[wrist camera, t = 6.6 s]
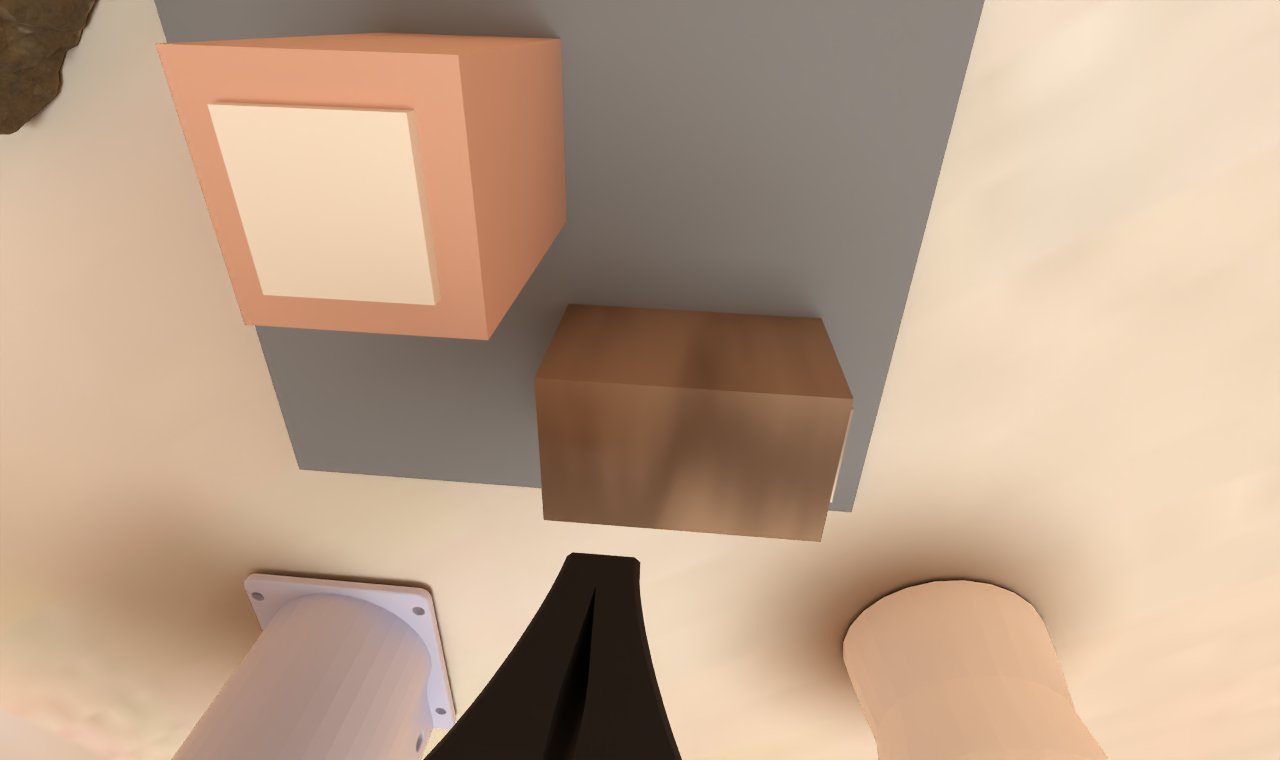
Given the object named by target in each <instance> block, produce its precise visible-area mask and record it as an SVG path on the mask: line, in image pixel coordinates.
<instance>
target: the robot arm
mask: <svg viewBox="0 0 1280 760" xmlns="http://www.w3.org/2000/svg"><path fill="white" fill-rule="evenodd" d="M639 579H640V562H639V561H638V560H637V559H636V558H634V557H622V556H610V555H598V554H585V553H571V554H570V555H568V556H567V558H566V560H565V562H564V564H563V566H562V568H561V570H560V572H559V574H558V576H557V578H556V580H555V582H554V584H553V586H552V588H551V589H550V591H549V593H548V595H547V596H546V598H545V600H544V601H543V603H542V605H541V607H540V608H539V610H538V612H537V613H536V615H535V616H534V618H533V619H532V621H531V622H530V624H529V626H528V627H527V629H526V630H525V632H524V633H523V635H522V636H521V638H520V639H519V641H518V642H517V644H516V645H515V647H514V648H513V650H512V651H511V653H510V654H509V655H508V657H507V658H506V659H505V661H504V662H503V664H502V665H501V666H500V668H499V669H498V670H497V672H496V673H495V675H494V676H493V677H492V679H491V680H490V681H489V683H488V684H487V685H486V687H485V688H484V689H483V691H482V692H481V693H480V694H479V696H478V697H477V698H476V700H475V701H474V702H473V703H472V705H471V706H470V707H469V708H468V709H467V711H466V712H465V713H464V714H463V715H462V717H461V718H460V719H459V720H458V721H457V723H456V724H455V725H454V723H455V721H456V715H455V710H454V705H453V700H452V695H451V690H450V685H449V680H448V675H447V671H446V666H445V661H444V656H443V651H442V646H441V641H440V636H439V631H438V626H437V621H436V616H435V611H434V606H433V601H432V597H431V595H430V593H429V592H428V591H427V590H425V589H422V588H416V587H404V586H393V585H382V584H370V583H359V582H348V581H336V580H325V579H314V578H302V577H291V576H280V575H268V574H251V575H249V576H248V578H247V579H246V580H245V582H244V588H245V590H246V593H247V595H248V597H249V600H250V602H251V605H252V607H253V609H254V612H255V614H256V617H257V619H258V621H259V624H260V626H261V629H262V631H263V632H262V633H261V635H260V636H259V638H258V639H257V640H256V642H255V643H254V645H253V646H252V647H251V649H250V650H249V652H248V653H247V654H246V656H245V657H244V659H243V660H242V661H241V663H240V664H239V666H238V667H237V668H236V670H235V671H234V673H233V674H232V675H231V677H230V678H229V680H228V681H227V682H226V684H225V685H224V687H223V688H222V689H221V691H220V692H219V694H218V695H217V696H216V698H215V699H214V701H213V702H212V703H211V705H210V706H209V708H208V709H207V710H206V712H205V713H204V715H203V716H202V717H201V719H200V720H199V722H198V723H197V724H196V726H195V727H194V729H193V730H192V731H191V733H190V734H189V736H188V737H187V738H186V740H185V741H184V743H183V744H182V745H181V747H180V748H179V750H178V751H177V752H176V754H175V755H174V757H173V758H172V759H171V760H421V758H422V755H423V753H424V750H425V748H426V745H427V742H428V740H429V737H430V734H431V732H432V729H433V728H439V729H450V728H452V729H451V730H450V731H449V732H448V733H447V734H446V735H445V737H444V738H443V739H442V740H441V741H440V742H439V743H438V744H437V745H436V746H435V748H434V749H433V750H432V751H431V752H430V753H429V754H428V755H427V756H426V757H425V759H424V760H682V759H681V756H680V753H679V750H678V747H677V745H676V742H675V739H674V736H673V733H672V730H671V727H670V724H669V721H668V718H667V714H666V711H665V708H664V704H663V701H662V697H661V694H660V690H659V687H658V683H657V680H656V676H655V672H654V668H653V664H652V659H651V655H650V650H649V646H648V641H647V636H646V632H645V626H644V620H643V613H642V606H641V598H640V585H639Z"/></svg>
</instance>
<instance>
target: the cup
mask: <svg viewBox="0 0 1280 760" xmlns="http://www.w3.org/2000/svg"><path fill="white" fill-rule="evenodd" d="M843 660H844V663H845V665H846V668H847V671H848V674H849V677H850V680H851V682H852V685H853V688H854V690H855V693H856V695H857V697H858V700H859V702H860V705H861V707H862V709H863V712H864V714H865V716H866V719H867V721H868V724H869V726H870V728H871V731H872V733H873V735H874V738H875V740H876V743H877V751H878V760H1109V758H1108V757H1107V755H1106V754H1105V752H1104V751H1103V750H1102V748H1101V747H1100V745H1099V744H1098V743H1097V741H1096V740H1095V738H1094V737H1093V736H1092V734H1091V733H1090V731H1089V730H1088V729H1087V727H1086V726H1085V724H1084V723H1083V721H1082V720H1081V719H1080V717H1079V716H1078V714H1077V713H1076V711H1075V708H1074V705H1073V702H1072V699H1071V696H1070V693H1069V690H1068V687H1067V684H1066V681H1065V678H1064V675H1063V672H1062V669H1061V666H1060V663H1059V660H1058V657H1057V654H1056V651H1055V649H1054V646H1053V644H1052V641H1051V639H1050V637H1049V634H1048V632H1047V629H1046V627H1045V624H1044V622H1043V620H1042V618H1041V617H1040V616H1039V614H1038V613H1037V611H1036V610H1035V609H1034V607H1033V606H1032V605H1031V604H1030V603H1028V602H1027V601H1025V600H1024V599H1023V598H1021V597H1020V596H1018V595H1017V594H1015V593H1014V592H1011V591H1008V590H1006V589H1003V588H1000V587H997V586H995V585H992V584H986V583H979V582H972V581H965V580H959V581H935V582H930V583H926V584H921V585H917V586H912V587H908V588H905V589H903V590H900V591H898V592H895V593H893V594H891V595H888V596H886V597H883V598H882V599H880V600H879V601H877V602H876V603H874V604H873V605H872V606H870V607H869V608H867V609H866V610H864V611H863V612H862V613H861V614H860V616H859V617H858V618H857V619H856V620H855V621H854V622H853V624H852V625H851V626H850V628H849V630H848V632H847V635H846V637H845V640H844V642H843Z"/></svg>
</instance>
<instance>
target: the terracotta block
mask: <svg viewBox="0 0 1280 760" xmlns="http://www.w3.org/2000/svg"><path fill="white" fill-rule="evenodd" d="M156 47H157V50H158V53H159V56H160V59H161V63H162V66H163V69H164V72H165V75H166V78H167V81H168V85H169V88H170V91H171V94H172V97H173V100H174V103H175V107H176V110H177V113H178V116H179V119H180V122H181V125H182V129H183V132H184V135H185V138H186V141H187V144H188V147H189V151H190V154H191V157H192V160H193V163H194V166H195V169H196V173H197V176H198V179H199V182H200V185H201V188H202V191H203V195H204V198H205V201H206V204H207V207H208V210H209V213H210V216H211V220H212V223H213V226H214V229H215V232H216V235H217V238H218V242H219V245H220V248H221V251H222V254H223V257H224V260H225V264H226V267H227V270H228V273H229V276H230V279H231V282H232V286H233V289H234V292H235V295H236V298H237V301H238V304H239V308H240V311H241V314H242V317H243V320H244V323H245V325H257V326H273V327H289V328H304V329H320V330H336V331H351V332H367V333H383V334H398V335H414V336H430V337H445V338H461V339H477V340H489V338H490V337H491V335H492V334H493V332H494V331H495V329H496V328H497V326H498V325H499V323H500V322H501V320H502V319H503V317H504V316H505V314H506V312H507V311H508V309H509V308H510V306H511V305H512V303H513V302H514V300H515V299H516V297H517V296H518V294H519V293H520V291H521V290H522V288H523V287H524V285H525V284H526V282H527V281H528V279H529V278H530V276H531V275H532V273H533V272H534V270H535V268H536V267H537V265H538V264H539V262H540V261H541V259H542V258H543V256H544V255H545V253H546V252H547V250H548V249H549V247H550V246H551V244H552V243H553V241H554V240H555V238H556V237H557V235H558V234H559V232H560V231H561V229H562V228H563V226H564V224H565V223H566V221H567V217H566V185H565V153H564V122H563V90H562V58H561V39H556V38H527V37H498V36H469V35H440V34H411V33H362V34H342V35H322V36H302V37H282V38H262V39H242V40H223V41H203V42H183V43H163V44H156Z"/></svg>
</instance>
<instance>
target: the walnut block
mask: <svg viewBox="0 0 1280 760" xmlns="http://www.w3.org/2000/svg"><path fill="white" fill-rule="evenodd" d="M534 382H535V397H536V412H537V427H538V441H539V456H540V471H541V486H542V501H543V515H544V520H552V521H564V522H577V523H589V524H602V525H615V526H627V527H640V528H652V529H665V530H677V531H690V532H703V533H715V534H728V535H740V536H753V537H765V538H778V539H790V540H803V541H816V542H821V538H822V533H823V529H824V525H825V520H826V516H827V512H828V508H829V503H830V502H831V503H832V500H833V496H834V492H835V487H836V483H837V479H838V475H839V470H840V466H841V462H842V457H843V453H844V449H845V445H846V440H847V436H848V432H849V428H850V423H851V419H852V415H853V411H854V409H853V407H852V404H853V400H854V399H853V396H852V394H851V391H850V389H849V386H848V383H847V381H846V378H845V376H844V373H843V371H842V368H841V366H840V363H839V361H838V358H837V356H836V353H835V351H834V348H833V346H832V343H831V341H830V338H829V336H828V333H827V331H826V328H825V326H824V323H823V321H822V318H805V317H788V316H771V315H754V314H737V313H720V312H703V311H685V310H668V309H651V308H634V307H617V306H600V305H583V304H568V306H567V308H566V310H565V313H564V315H563V317H562V319H561V321H560V323H559V326H558V328H557V330H556V332H555V334H554V336H553V339H552V341H551V343H550V345H549V347H548V349H547V352H546V354H545V356H544V358H543V360H542V362H541V365H540V367H539V369H538V371H537V373H536V375H535V377H534Z"/></svg>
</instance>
